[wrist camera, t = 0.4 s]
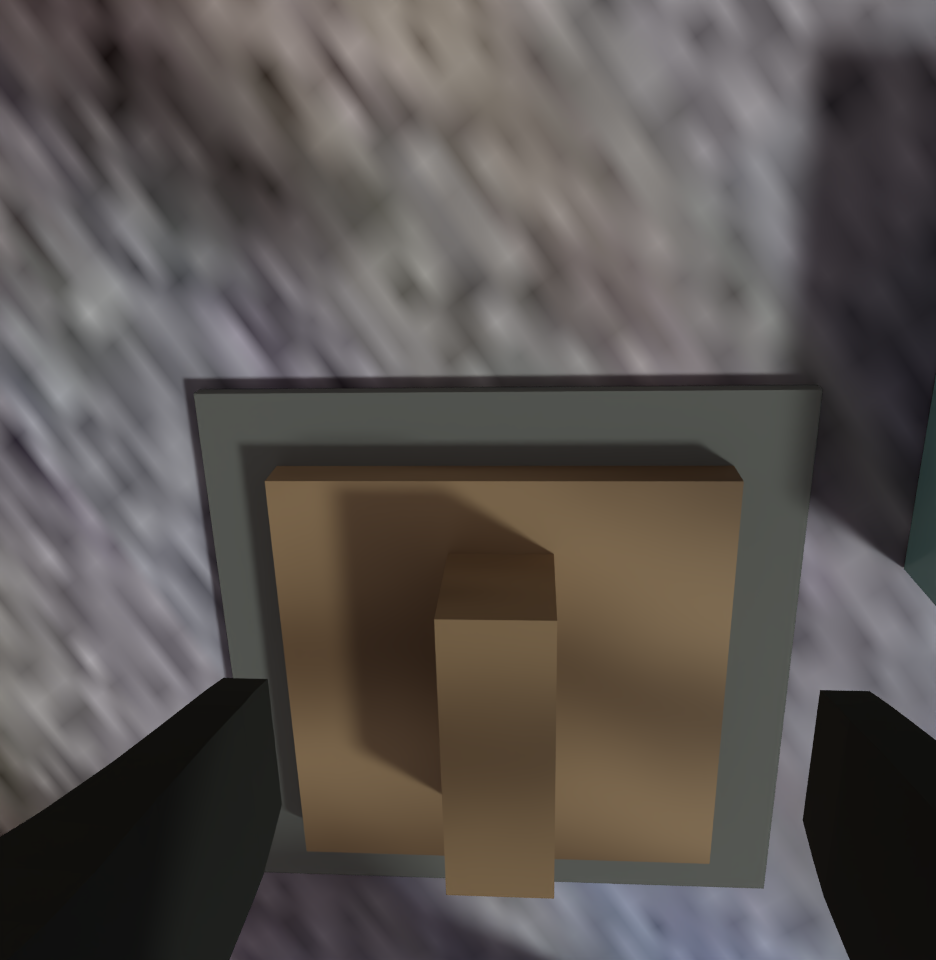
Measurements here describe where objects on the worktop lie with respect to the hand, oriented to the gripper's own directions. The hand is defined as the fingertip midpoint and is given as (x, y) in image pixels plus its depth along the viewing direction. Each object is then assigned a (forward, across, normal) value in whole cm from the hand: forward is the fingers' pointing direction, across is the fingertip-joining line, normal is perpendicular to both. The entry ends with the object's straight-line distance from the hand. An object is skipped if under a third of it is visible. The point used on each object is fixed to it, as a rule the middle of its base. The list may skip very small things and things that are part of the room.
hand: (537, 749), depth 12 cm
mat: (+10, +1, +5) cm, 11 cm away
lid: (+10, +1, +5) cm, 11 cm away
